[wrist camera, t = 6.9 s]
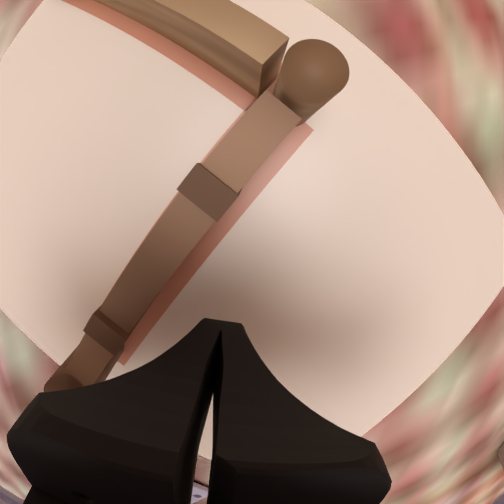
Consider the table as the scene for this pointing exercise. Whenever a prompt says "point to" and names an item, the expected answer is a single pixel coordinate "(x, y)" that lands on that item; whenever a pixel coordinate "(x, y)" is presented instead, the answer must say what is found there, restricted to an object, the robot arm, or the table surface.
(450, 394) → the table surface
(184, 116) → the card
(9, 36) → the table surface
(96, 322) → the fence panel
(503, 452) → the house plant
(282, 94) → the fence fixed
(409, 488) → the table surface
